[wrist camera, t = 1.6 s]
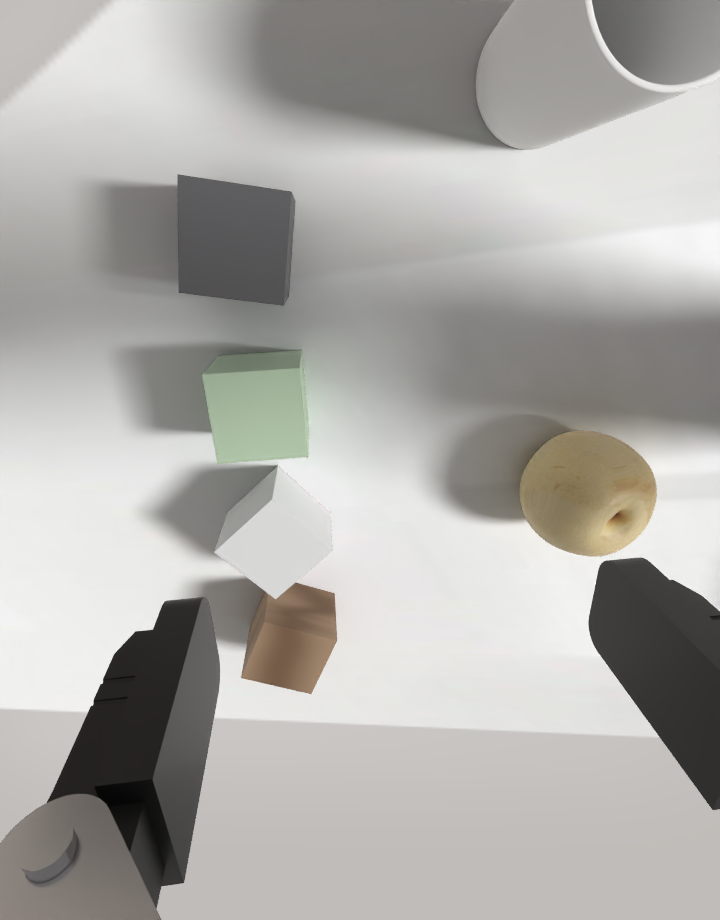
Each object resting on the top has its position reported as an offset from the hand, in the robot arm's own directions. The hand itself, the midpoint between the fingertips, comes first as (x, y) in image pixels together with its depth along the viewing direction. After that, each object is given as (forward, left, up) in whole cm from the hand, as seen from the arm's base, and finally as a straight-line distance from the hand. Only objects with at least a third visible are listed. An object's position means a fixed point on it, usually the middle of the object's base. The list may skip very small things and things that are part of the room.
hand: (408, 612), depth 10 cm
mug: (-2, -19, -23) cm, 29 cm away
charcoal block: (+8, -3, -23) cm, 24 cm away
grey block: (-1, +11, -23) cm, 25 cm away
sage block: (+4, +4, -23) cm, 23 cm away
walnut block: (-6, +18, -23) cm, 30 cm away
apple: (-17, -2, -23) cm, 29 cm away
